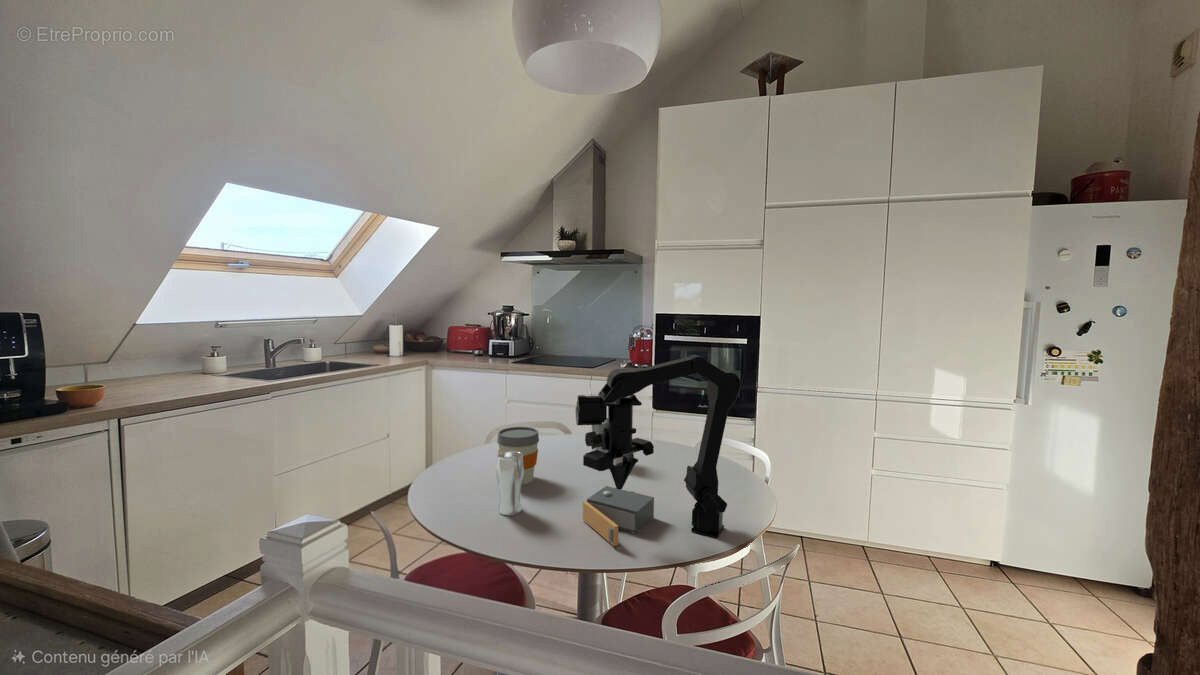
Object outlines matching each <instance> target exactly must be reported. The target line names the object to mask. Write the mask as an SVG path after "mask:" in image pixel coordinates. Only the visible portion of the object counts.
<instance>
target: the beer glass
mask: <svg viewBox="0 0 1200 675" xmlns="http://www.w3.org/2000/svg"><path fill="white" fill-rule="evenodd" d="M496 457H497V459H496V480H497V481H496V482H497V486H498V493H499V505H498V513H499V514H500V515H502V516H507V517H509V516H516V515H519V514H520V513H521V512H522V510H523V507H522V503H521V492H522V487H523V485H522V482H523V472H524V467H523V454H522V453H520V452H516V451H507V452H502V453H500V454H497V456H496Z"/></svg>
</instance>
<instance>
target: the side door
mask: <svg viewBox="0 0 1200 675" xmlns="http://www.w3.org/2000/svg"><path fill="white" fill-rule="evenodd" d="M582 521H584V522H585V523H586V524H587V525H589V527H590V528H592V529H593V530H595V532H596V533H598V534H599V535H600V536H601V537H603V538H604V540H606V541H607V542H608V543H609V544H610V545H612V546H613V547H617V546H618V545H619V529H618V525H617V524H615V523H614V522H613V521H611V520H610V519H609V518H608V517H606V516H605V515H604V514H602V513H601V512H600V511H598V510H597V509H596V508H595V507H593V506H592V505H591V504H589V503H588V502H587V500H586V501H583V502H582Z"/></svg>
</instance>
